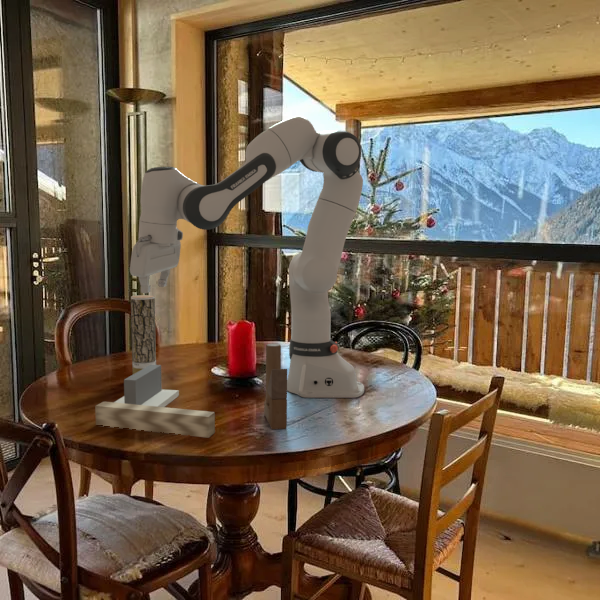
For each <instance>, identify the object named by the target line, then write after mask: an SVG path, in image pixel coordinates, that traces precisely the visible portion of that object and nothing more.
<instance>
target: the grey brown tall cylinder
mask: <svg viewBox="0 0 600 600" xmlns="http://www.w3.org/2000/svg"><path fill="white" fill-rule="evenodd" d="M155 302H156V299H155V295H150V294H148V295H147V294H143V295H142V294H140V295H132V296H130V317H131V319H130V321H131V322H130V323H131V324H130V325H131V356H132V357H131V362H132V375H133V374H135V373H137V372H138V371H140V370H142V369H144V368H145V367H147V366H149V365H157V355H156V354H157V352H156V351H157V350H156V347H157V346H156V303H155Z"/></svg>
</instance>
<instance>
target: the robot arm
mask: <svg viewBox="0 0 600 600" xmlns="http://www.w3.org/2000/svg"><path fill="white" fill-rule="evenodd" d="M361 159H362V145H361V142H360V140H359V138H358V137H357V136H356V135H355V134H353V133H351V132H349V131H346V130H342V129H340V130H329V129H328V130H323V131H322V130H321V131H316V129H315V128H314V125H313V124H312V123H311V121H310V120H309V119H307V118H306V117H304V116H301V115H295V116H292V117H289V118H286V119H284V120H282V121H280V122H278V123H275V124H274V125H272V126H270V127H268V128H267V129H265V130H264V131H262V132H261V133H259V134H258V135H257V136H256V137H254V139H253V140H251V141H250V142H249V144H248V145H246V149H245V162H244V163H243V164H242V165H241V166H240V167H238V169H236V170H235V171H233V172H232V173H230V174H229V175H228V176H226V177H224V179H222V180H221V181H219V182H217V183H215V184H209V185H208V184H207V185H204V184H200V183H198V182H196V181H194V180H193V179H191V178H189V177H187V176H186V175H184V174H183V173H182V172H180V171H179V170H178V168H177V167H174V166H157V167H151V168H149V169H147V170H146V171H145V172H144V175H143V177H142V182H141V190H140V191H141V192H140V206H141V214H140V217H139V220H138V221H139V222H138V223H139V224H138V238H137V239H138V240H137V241H136V242H135V243H134V244H133V246H132V250H131V256H130V265H129V266H130V267H129V273H130V275H131V276H133V277H138V281H139V284H140V293H141V294H149V293H150V292H151V288H152V287H151V285H150V281H149V280H150V277H151V275H155V274H157V273H160V276H159V279H158V280H157V282H158V284H157V285H158V287H161V288H165V287H167V286H168V279H169V276H170V275H171V274H170V273H171V270H172V269H173V268H177V267H178V264H179V261H180V257H181V256H180V255H181V247H182V243H181V241H182V240H183V237H184V233H183V231H182V230H180V229H179V228H178V227H177V225H178V222H177V221H178V220H185V221H186V222H187V223H190V224H191V225H193V227H195V228H197V229H200V230H213V229H215V228H218V227H219V226H220V225H222V224H223V223H224V221H225V220H226V219H227V217H228V215H229V214H230V213H231V211H232V210H233V208H235V206H237V204H238V203H240V202H241V201H243V199H245V198H247V197H248V196H249V195H250V194H252V193H253V192H254V191H256V190H257V189H258V188H259V187H261V186H262V185H263V184H264V183H266V182H267V181H269V180H270V179H272V178H274V177H276V176H278V175H279V174H281V173H283V172H285V171H286V170H288V169H289V168H290V167H292V166H293V165H294V164H296V163H297V162H300V163H301V165H302V166H303V167H305V168H306V169H307V170H309V171H311V172H314V173H315V172H316V173H322V174H323V175H322V176H323V182H322V183H323V185H322V188H321V191H320V193H319V196H318V198H317V200H316V204H315V206H314V208H313V210H312V211H313V212H312V214H311V217H310V219H309V222H308V225H307V231H306V236H305V240H304V243H303V247H302V250H301V251H300V252H298V253H297V254H295V255H294V256H293V257H292V259H291V260H290V262H289V265H288V285H289V297H290V309H291V329H290V330H291V332H290V333H291V334H290V335H291V339H290V340H289V346H288V347H289V348H288V351H289V352H288V353H289V355H288V356H289V359H290V361H289V369H288V370H289V371H288V373H287V392H288V393H292V394H296V395H298V396H299V397H301V398H312V399H313V398H317V399H319V398H322V399H323V398H325V399H327V398H331V399H332V398H334V399H335V398H337V399H338V398H339V399H340V398H341V399H344V398H350V399H351V398H359V397H361V396H362V395H364V393H365V385H364V384H363V383H362V382H361V381H358V377H357V372H356V369H355V367H354V366H353V365H352V364H351V363H349V362H348V361H347V360H346V359H344V358H343V357H342V356H341V355H340V354H339V353H338V349H339V347H338V342H337V341H333V340H332V339H331V327H332V325H331V323H332V322H331V320H332V319H331V318H332V312H331V308H330V303H329V302H330V301H329V294H328V293H329V292H328V291H329V290H330V289H332V288H333V287H334V286H335V284H336V282H337V279H338V271H339V267H340V264H341V261H342V260H341V259H342V255H343V251H344V246H345V243H346V239H347V236H348V234H349V231H350V229H351V225H352V223H353V220H354V217H355V215H356V211H357V210H358V207H359V206H358V205H359V203H360V199H361V195H362V190H363V186H364V180H363V176H362V175H361V173H360V172H359V170H360V167H361V163H360V162H361Z"/></svg>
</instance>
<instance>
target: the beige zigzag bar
mask: <svg viewBox="0 0 600 600" xmlns="http://www.w3.org/2000/svg"><path fill="white" fill-rule="evenodd" d="M94 412H95V426H96V425H103V426H102V427H104V426H110V427H109V428H114V427H119V428H118V429H123V428H129V429H128V430H132V429H136V430H135V431H141V430H144V431H143V432H151V431H152V432H151V433H160V432H162V433H161V434H169V433H175V434H174V435H178V434H181V435H180V436H188V435H190V436H189V437H198V438H208V439H209V438H210V437H212V436H213V435H214V434H215V433H216V430H215V429H216V424H215V423H216V419H215V418H216V414H215V413H216V412H215V411H207V410H197V409H196V410H195V409H186V408H175V407H167V406H165V407H156V406H146V405H135V404H125V403H115V401H102V402H100V403H98V404H96V405H95V410H94ZM163 432H164V433H163Z"/></svg>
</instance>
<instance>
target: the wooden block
mask: <svg viewBox="0 0 600 600" xmlns="http://www.w3.org/2000/svg"><path fill="white" fill-rule="evenodd" d="M281 348H282V346H281V344H279V343H268V344H266V346H265V401H264V403H263V405H264V411H263V412H264V416H265V419H266V421H267V423H268V425H269V428H271V430H274V431H275V430H286V429H287V428H288V427H287V426H288V399H287V398H288V391H287V379H288V369H287V368H282V365H281V364H282V349H281Z"/></svg>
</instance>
